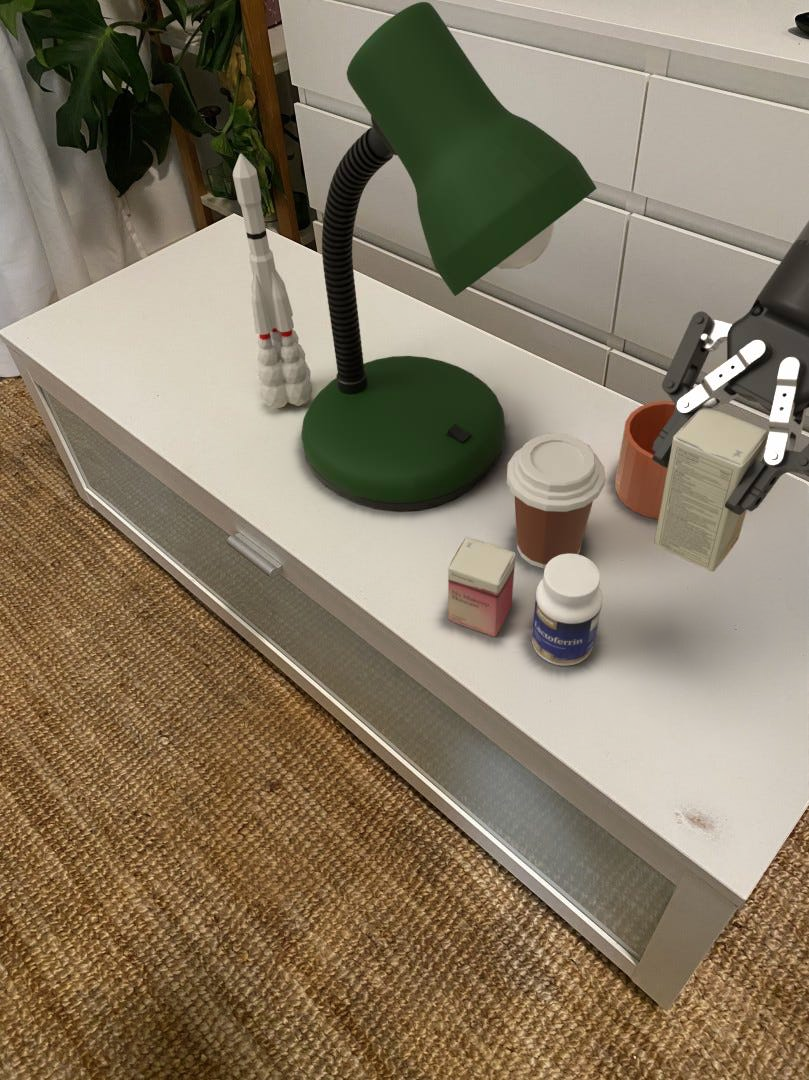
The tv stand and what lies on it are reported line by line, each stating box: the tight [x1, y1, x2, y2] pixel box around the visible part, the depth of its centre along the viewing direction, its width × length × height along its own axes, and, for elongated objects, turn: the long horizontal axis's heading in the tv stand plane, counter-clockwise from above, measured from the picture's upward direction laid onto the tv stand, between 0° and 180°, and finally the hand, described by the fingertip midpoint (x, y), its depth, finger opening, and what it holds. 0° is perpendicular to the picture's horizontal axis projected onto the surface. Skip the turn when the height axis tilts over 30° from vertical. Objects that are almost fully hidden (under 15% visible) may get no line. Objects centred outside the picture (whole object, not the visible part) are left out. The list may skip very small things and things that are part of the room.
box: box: [654, 406, 769, 572], centre depth 62 cm, size 5×4×11 cm
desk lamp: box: [300, 1, 598, 512], centre depth 81 cm, size 31×23×45 cm
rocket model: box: [232, 153, 313, 410], centre depth 94 cm, size 7×7×30 cm
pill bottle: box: [531, 554, 603, 667], centre depth 76 cm, size 6×6×10 cm
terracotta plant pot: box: [614, 400, 675, 520], centre depth 89 cm, size 9×9×8 cm
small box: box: [447, 536, 517, 637], centre depth 79 cm, size 5×4×8 cm
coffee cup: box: [506, 433, 606, 569], centre depth 83 cm, size 9×9×12 cm
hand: (696, 486), depth 60 cm, fingers closed on box, 5 cm apart
